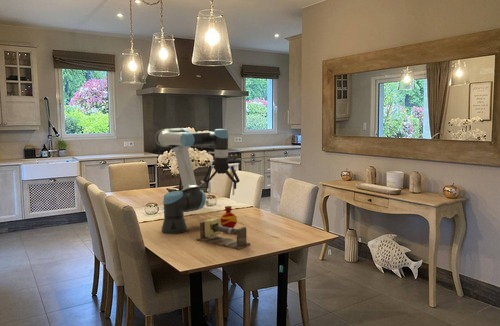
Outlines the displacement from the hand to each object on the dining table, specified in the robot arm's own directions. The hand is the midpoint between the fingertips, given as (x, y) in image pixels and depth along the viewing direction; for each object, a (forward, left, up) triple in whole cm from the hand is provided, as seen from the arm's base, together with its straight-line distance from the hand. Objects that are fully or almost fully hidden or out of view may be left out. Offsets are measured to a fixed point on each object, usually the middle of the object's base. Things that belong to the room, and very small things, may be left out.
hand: (221, 194), depth 227 cm
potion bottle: (-5, +12, -25) cm, 29 cm away
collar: (-1, -7, -22) cm, 23 cm away
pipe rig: (+6, -7, -25) cm, 27 cm away
